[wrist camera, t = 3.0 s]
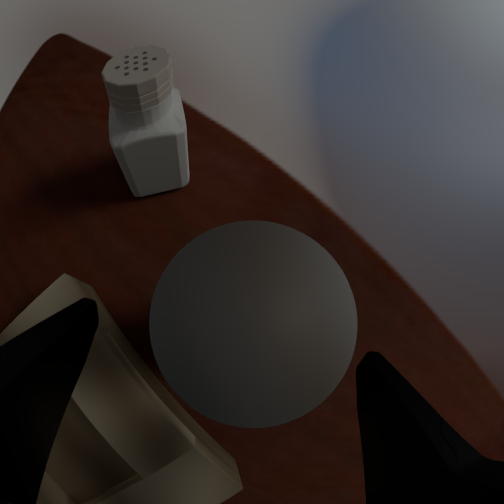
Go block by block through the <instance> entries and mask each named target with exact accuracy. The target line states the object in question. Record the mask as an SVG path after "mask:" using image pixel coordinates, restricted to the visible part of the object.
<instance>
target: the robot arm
mask: <svg viewBox="0 0 504 504" xmlns="http://www.w3.org/2000/svg"><path fill="white" fill-rule="evenodd" d="M98 324H99V316H98V309H97V303H96V301H95V300H93V299H89V298H86V297H84V298H82V299H80V300H78V301H76V302H75V303H73V304H71V305H69V306H67V307H66V308H64V309H62V310H60V311H59V312H57V313H55V314H53V315H52V316H50V317H48V318H46V319H45V320H43V321H41V322H39V323H38V324H36V325H34V326H33V327H31V328H29V329H28V330H26V331H24V332H22V333H21V334H19V335H17V336H16V337H14V338H13V339H11V340H9V341H8V342H6V343H4V344H3V346H2V345H1V346H0V504H9V503H11V504H36V502H37V498H38V494H39V490H40V486H41V483H42V479H43V476H44V472H45V469H46V465H47V462H48V459H49V455H50V452H51V449H52V446H53V443H54V440H55V438H56V435H57V432H58V429H59V426H60V424H61V421H62V418H63V416H64V413H65V411H66V408H67V405H68V403H69V400H70V398H71V396H72V393H73V391H74V388H75V386H76V384H77V381H78V379H79V377H80V375H81V372H82V370H83V368H84V365H85V363H86V360H87V357H88V354H89V351H90V348H91V345H92V342H93V339H94V336H95V333H96V330H97V328H98ZM356 386H357V410H358V418H359V426H360V435H361V444H362V453H363V464H364V476H365V491H366V504H504V461H495V460H490V459H488V458H486V457H484V456H483V455H481V454H480V453H479V452H478V451H477V450H476V449H475V448H473V447H472V446H471V445H470V444H469V443H468V442H467V441H466V440H465V439H463V438H462V437H461V436H460V435H459V434H458V433H457V432H456V431H455V430H454V429H453V428H452V427H451V426H450V425H449V424H448V423H447V422H446V421H445V420H444V419H443V418H442V417H441V416H440V414H439V413H438V412H437V411H436V410H435V409H434V408H433V407H432V406H431V405H430V404H429V403H428V402H427V401H426V400H425V399H424V398H423V397H422V396H421V395H420V394H419V392H418V391H417V390H416V389H415V388H414V387H413V386H412V385H411V384H410V383H409V382H408V381H407V380H406V379H405V378H404V377H403V376H402V375H401V374H400V373H399V372H398V371H397V370H396V369H395V368H394V367H393V366H392V365H391V364H390V363H389V362H388V361H387V360H386V359H385V358H384V357H383V355H382V354H380V353H379V352H372V351H370V352H368V353H366V355H365V356H364V357H363V359H362V360H361V362H360V363H359V364H358V366H357V369H356Z"/></svg>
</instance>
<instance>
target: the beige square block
mask: <svg viewBox="0 0 504 504" xmlns="http://www.w3.org/2000/svg"><path fill="white" fill-rule="evenodd" d="M84 297H86V298H89V299H93V300H95V301H96V303H97V309H98V316H99V324H98V328H97V330H96V333H95V336H94V339H93V342H92V345H91V348H90V351H89V354H88V357H87V360H86V363H85V365H84V368H83V370H82V372H81V375H80V377H79V379H78V381H77V384H76V386H75V388H74V391H73V393H72V396H71V398H70V400H69V403H68V405H67V408H66V411H65V413H64V416H63V418H62V421H61V424H60V426H59V429H58V432H57V435H56V438H55V440H54V443H53V446H52V449H51V452H50V455H49V459H48V462H47V465H46V469H45V472H44V476H43V479H42V483H41V486H40V490H39V494H38V498H37V502H36V504H220V503H222V502H223V501H225V500H227V499H228V498H230V497H232V496H233V495H235V494H236V493H238V492H239V491H241V490H243V487H242V483H241V479H240V476H239V472H238V468H237V465H236V461H235V459H234V458H233V457H232V456H231V455H230V454H229V453H228V452H227V451H226V450H224V449H223V448H222V447H221V446H220V445H219V444H218V443H217V442H216V441H215V440H214V439H213V438H212V437H211V436H210V435H209V434H208V433H207V432H206V431H205V430H204V429H203V428H202V427H201V426H200V425H199V424H198V423H197V422H196V421H195V420H194V419H193V418H192V417H191V416H190V415H189V414H188V413H187V412H186V411H185V409H184V408H183V407H182V406H181V405H180V404H179V403H178V402H177V401H176V400H175V398H174V397H173V396H172V395H171V394H170V393H169V392H168V390H167V389H166V388H165V387H164V386H163V385H162V383H161V382H160V381H159V380H158V379H157V377H156V376H155V375H154V374H153V372H152V371H151V370H150V369H149V367H148V366H147V365H146V364H145V362H144V361H143V360H142V358H141V357H140V356H139V355H138V353H137V352H136V351H135V349H134V348H133V347H132V345H131V344H130V342H129V341H128V340H127V338H126V337H125V336H124V334H123V333H122V331H121V330H120V328H119V327H118V326H117V324H116V323H115V321H114V320H113V318H112V317H111V315H110V314H109V312H108V311H107V309H106V308H105V306H104V304H103V303H102V301H101V300H100V298H99V297H98V295H97V293H96V292H95V290H94V288H93V287H92V286H90V285H88V284H86V283H84V282H82V281H80V280H77V279H75V278H73V277H71V276H69V275H67V274H65V273H64V274H63V275H62V276H61V277H59V278H58V279H57V280H56V281H55V282H54V283H53V284H51V285H50V286H49V287H48V288H47V289H46V290H45V291H44V292H43V293H42V294H40V295H39V296H38V297H37V298H36V299H35V300H34V301H33V302H32V303H31V304H30V305H29V306H28V307H27V308H26V309H25V310H24V311H23V312H21V313H20V314H19V315H18V316H17V317H16V318H15V319H14V320H13V321H12V322H11V323H10V324H9V326H8V327H7V328H6V329H5V330H4V331H3V332H2V333H1V334H0V346H1V345H2V346H3V344H4V343H6V342H8V341H9V340H11V339H13V338H14V337H16V336H17V335H19V334H21V333H22V332H24V331H26V330H28V329H29V328H31V327H33V326H34V325H36V324H38V323H39V322H41V321H43V320H45V319H46V318H48V317H50V316H52V315H53V314H55V313H57V312H59V311H60V310H62V309H64V308H66V307H67V306H69V305H71V304H73V303H75V302H76V301H78V300H80V299H82V298H84Z"/></svg>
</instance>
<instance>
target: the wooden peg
mask: <svg viewBox="0 0 504 504" xmlns="http://www.w3.org/2000/svg"><path fill="white" fill-rule="evenodd" d="M149 330H150V341H151V345H152V349H153V354H154V357H155V359H156V362H157V364H158V367H159V369H160V371H161V373H162V374H163V376H164V378H165V380H166V381H167V383H168V384H169V385H170V387H171V388H172V389H173V391H174V392H175V393H176V394H177V395H178V396H179V397H180V398H181V399H182V400H183V401H184V402H185V403H186V404H188V405H189V406H190V407H192V408H193V409H194V410H196V411H197V412H199V413H201V414H203V415H204V416H206V417H208V418H210V419H213V420H215V421H218V422H220V423H223V424H227V425H232V426H236V427H245V428H263V427H270V426H276V425H280V424H283V423H286V422H290V421H292V420H295V419H297V418H299V417H301V416H303V415H305V414H306V413H308V412H310V411H311V410H313V409H314V408H316V407H317V406H318V405H319V404H320V403H322V402H323V401H324V400H325V399H326V398H327V397H328V396H329V395H330V394H331V393H332V392H333V391H334V389H335V388H336V387H337V385H338V384H339V382H340V381H341V380H342V378H343V376H344V374H345V372H346V370H347V369H348V366H349V364H350V361H351V359H352V356H353V352H354V348H355V344H356V337H357V312H356V305H355V301H354V297H353V293H352V290H351V288H350V285H349V283H348V280H347V279H346V277H345V275H344V273H343V271H342V270H341V268H340V267H339V265H338V264H337V262H336V261H335V260H334V258H333V257H332V256H331V255H330V254H329V253H328V252H327V251H326V250H325V249H324V248H323V247H322V246H321V245H319V244H318V243H317V242H316V241H314V240H313V239H311V238H310V237H308V236H307V235H305V234H303V233H301V232H299V231H297V230H295V229H293V228H290V227H287V226H284V225H281V224H277V223H272V222H267V221H255V220H254V221H239V222H234V223H228V224H225V225H222V226H218V227H215V228H213V229H211V230H209V231H207V232H205V233H203V234H201V235H199V236H198V237H196V238H195V239H193V240H192V241H190V242H189V243H188V244H187V245H186V246H184V247H183V248H182V249H181V250H180V251H179V252H178V253H177V254H176V255H175V256H174V258H173V259H172V260H171V261H170V263H169V264H168V266H167V267H166V268H165V270H164V271H163V273H162V275H161V277H160V279H159V281H158V283H157V286H156V289H155V292H154V295H153V298H152V303H151V308H150V318H149Z"/></svg>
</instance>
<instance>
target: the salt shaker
mask: <svg viewBox="0 0 504 504" xmlns="http://www.w3.org/2000/svg"><path fill="white" fill-rule="evenodd" d="M101 74H102V77H103V81H104V84H105V87H106V90H107V94H108V97H109V102H110V110H109V137H110V144H111V147H112V149H113V152H114V154H115V156H116V159H117V161H118V163H119V165H120V168H121V170H122V172H123V174H124V176H125V179H126V181H127V183H128V185H129V187H130V189H131V191H132V193H133V194H134V196H136V197H144V196H148V195H152V194H156V193H160V192H164V191H168V190H173V189H177V188H181V187H184V186H185V185H187V184H188V181H189V163H188V148H187V130H186V121H185V116H184V111H183V106H182V102H181V97H180V94H179V90H178V89H176V88H174V87H173V76H172V75H173V73H172V57H171V56H170V54H169V53H168V52H167V51H166V49H164V48H160V47H156V46H152V45H150V46H139V47H134V48H131V49H129V50H126V51H123V52H121V53H119V54H117V55H116V56H114V57H113V58H112V59H110V60H109V61H108V62H107V63H106V65H105V67H104V69H103V71H102V73H101Z"/></svg>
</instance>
